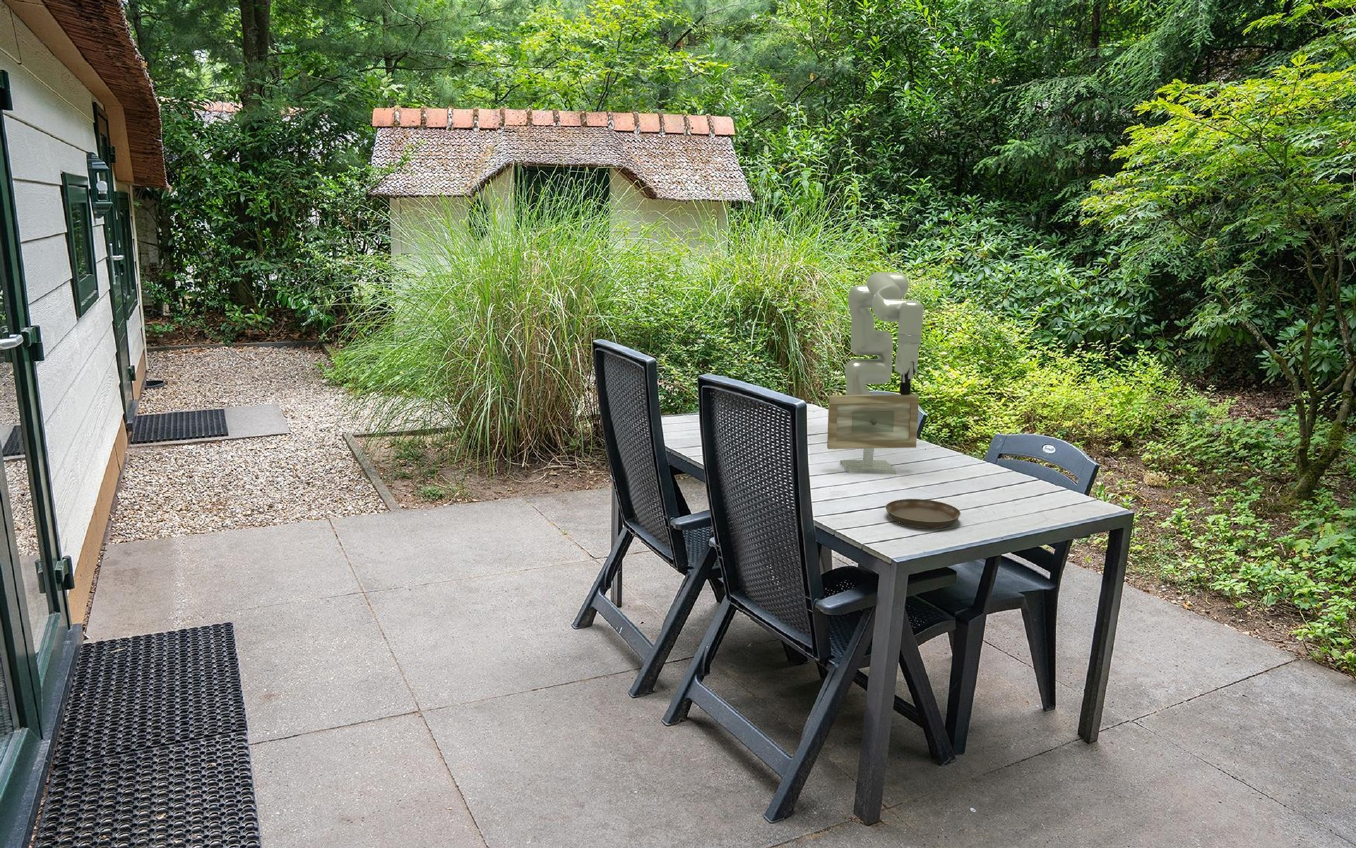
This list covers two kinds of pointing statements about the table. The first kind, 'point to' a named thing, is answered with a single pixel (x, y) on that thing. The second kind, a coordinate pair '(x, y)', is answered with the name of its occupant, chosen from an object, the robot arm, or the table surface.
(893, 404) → the picture frame
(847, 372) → the robot arm
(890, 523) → the table surface
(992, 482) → the table surface
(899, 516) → the plant saucer
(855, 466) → the frame stand
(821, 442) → the table surface
